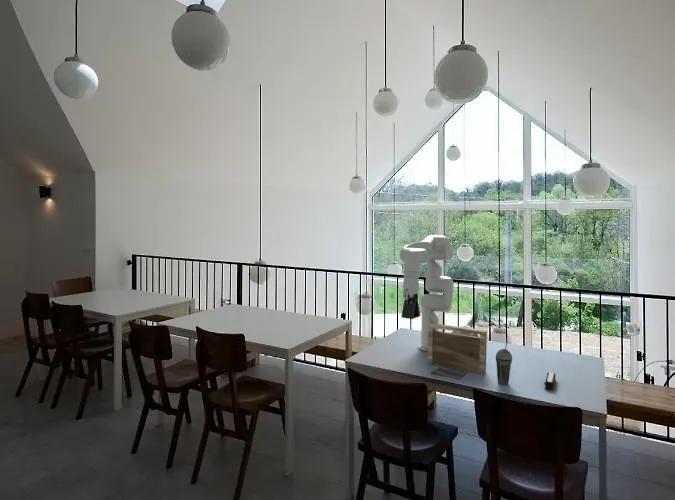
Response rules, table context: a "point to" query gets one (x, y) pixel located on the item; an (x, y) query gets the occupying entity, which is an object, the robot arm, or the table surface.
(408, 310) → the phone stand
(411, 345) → the table surface
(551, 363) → the table surface
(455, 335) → the model door
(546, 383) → the bus
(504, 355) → the beverage cup
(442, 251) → the robot arm
